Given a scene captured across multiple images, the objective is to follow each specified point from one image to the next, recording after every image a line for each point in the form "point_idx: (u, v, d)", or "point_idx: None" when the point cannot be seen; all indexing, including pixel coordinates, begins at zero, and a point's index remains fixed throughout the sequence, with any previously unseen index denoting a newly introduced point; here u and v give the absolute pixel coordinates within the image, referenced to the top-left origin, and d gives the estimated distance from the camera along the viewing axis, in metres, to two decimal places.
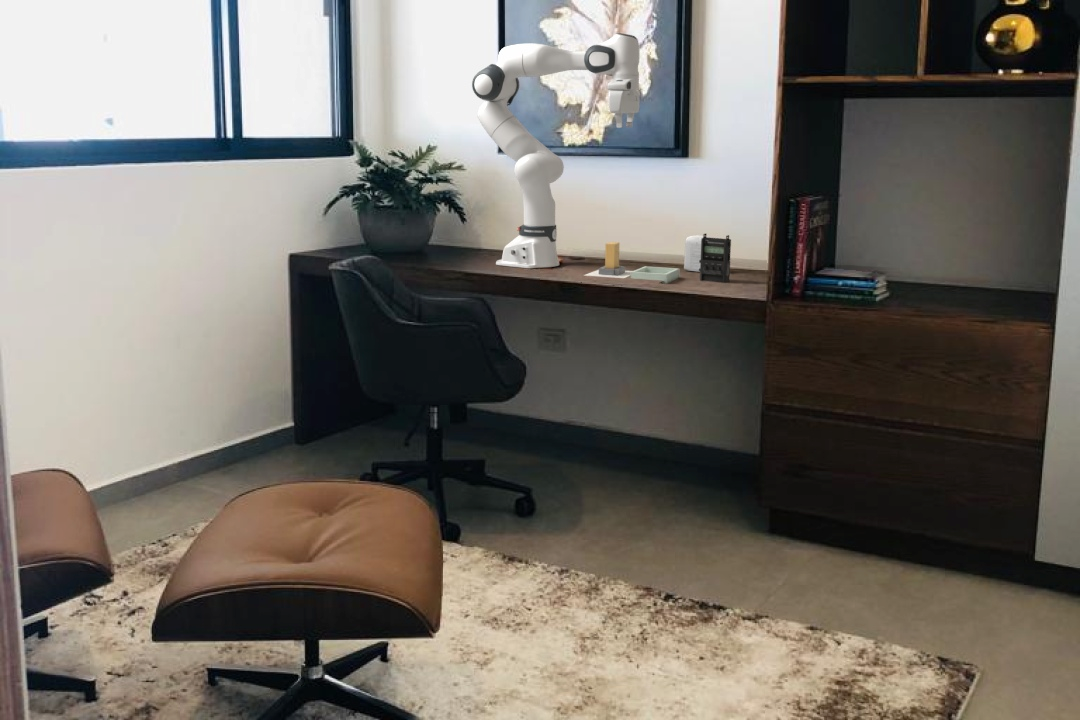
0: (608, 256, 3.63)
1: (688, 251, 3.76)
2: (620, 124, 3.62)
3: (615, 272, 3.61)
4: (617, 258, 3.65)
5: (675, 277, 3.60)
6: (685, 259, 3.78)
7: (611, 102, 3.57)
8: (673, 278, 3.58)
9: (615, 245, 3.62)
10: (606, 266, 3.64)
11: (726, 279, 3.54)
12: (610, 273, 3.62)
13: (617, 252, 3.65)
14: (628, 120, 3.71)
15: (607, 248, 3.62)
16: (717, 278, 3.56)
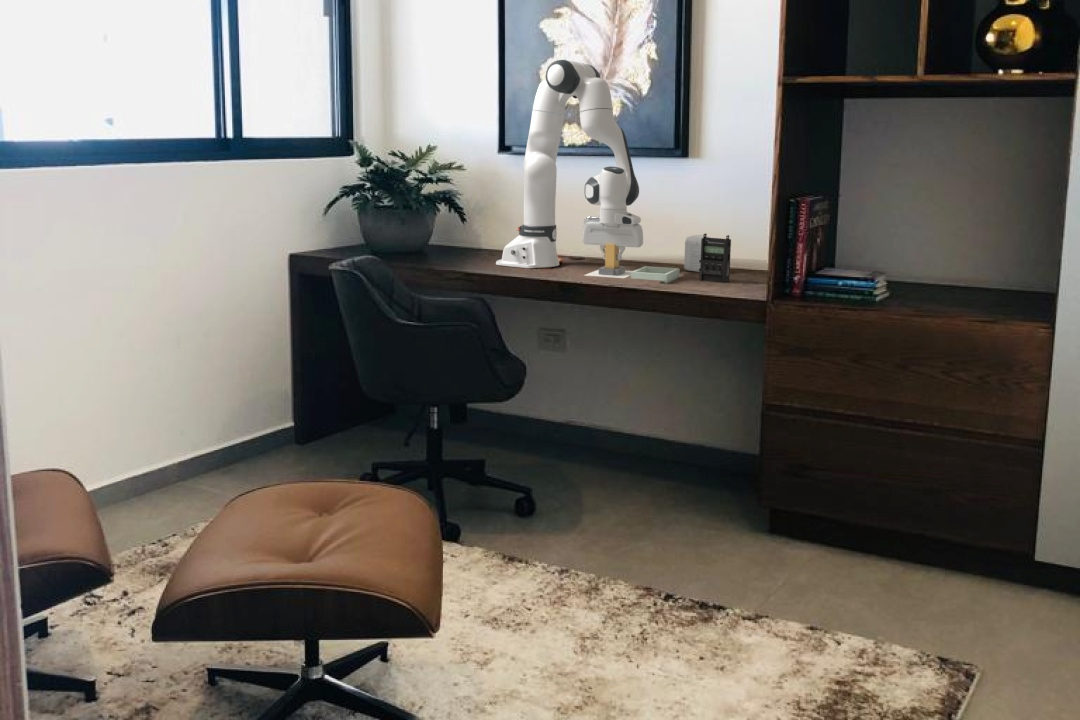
0: (608, 256, 3.63)
1: (688, 251, 3.76)
2: (621, 256, 3.64)
3: (615, 272, 3.61)
4: None
5: (675, 277, 3.60)
6: (685, 259, 3.78)
7: (640, 236, 3.58)
8: (673, 278, 3.58)
9: None
10: (606, 266, 3.64)
11: (726, 279, 3.54)
12: (610, 273, 3.62)
13: (617, 252, 3.65)
14: (604, 252, 3.65)
15: (607, 248, 3.62)
16: (717, 278, 3.56)
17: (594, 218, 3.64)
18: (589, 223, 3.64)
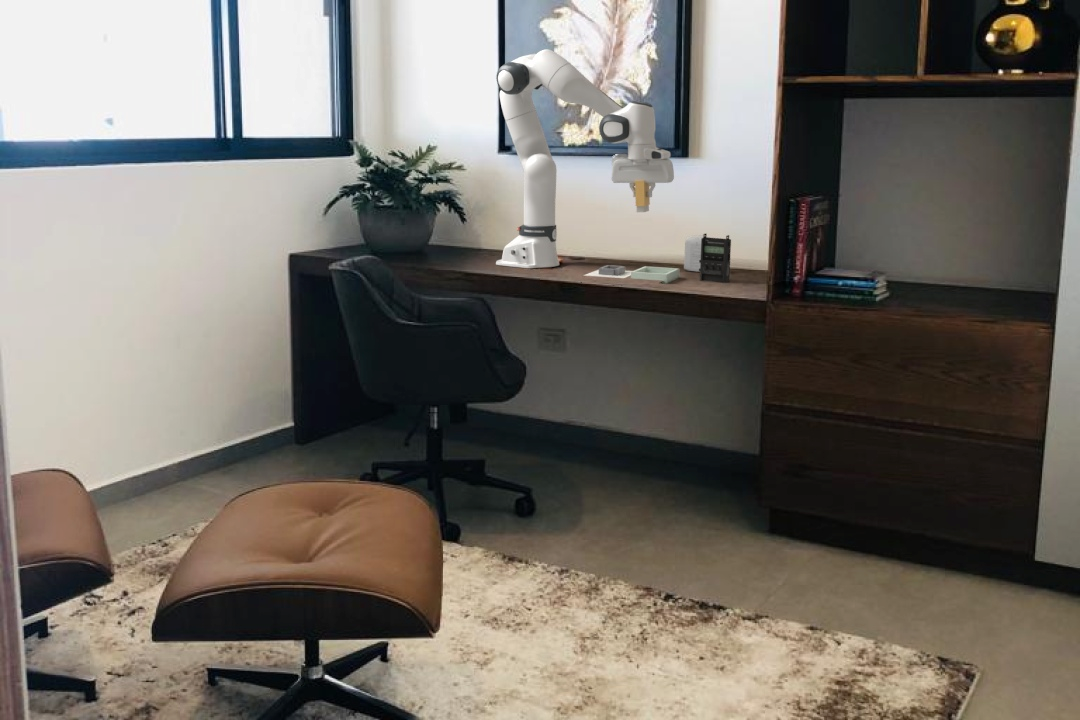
0: (638, 194, 3.53)
1: (688, 251, 3.76)
2: (651, 193, 3.54)
3: (615, 272, 3.61)
4: None
5: (675, 277, 3.60)
6: (685, 259, 3.78)
7: (670, 171, 3.48)
8: (673, 278, 3.58)
9: None
10: (636, 204, 3.54)
11: (726, 279, 3.54)
12: (610, 273, 3.62)
13: (647, 189, 3.55)
14: (634, 190, 3.56)
15: (637, 185, 3.53)
16: (717, 278, 3.56)
17: (622, 155, 3.55)
18: (617, 160, 3.54)
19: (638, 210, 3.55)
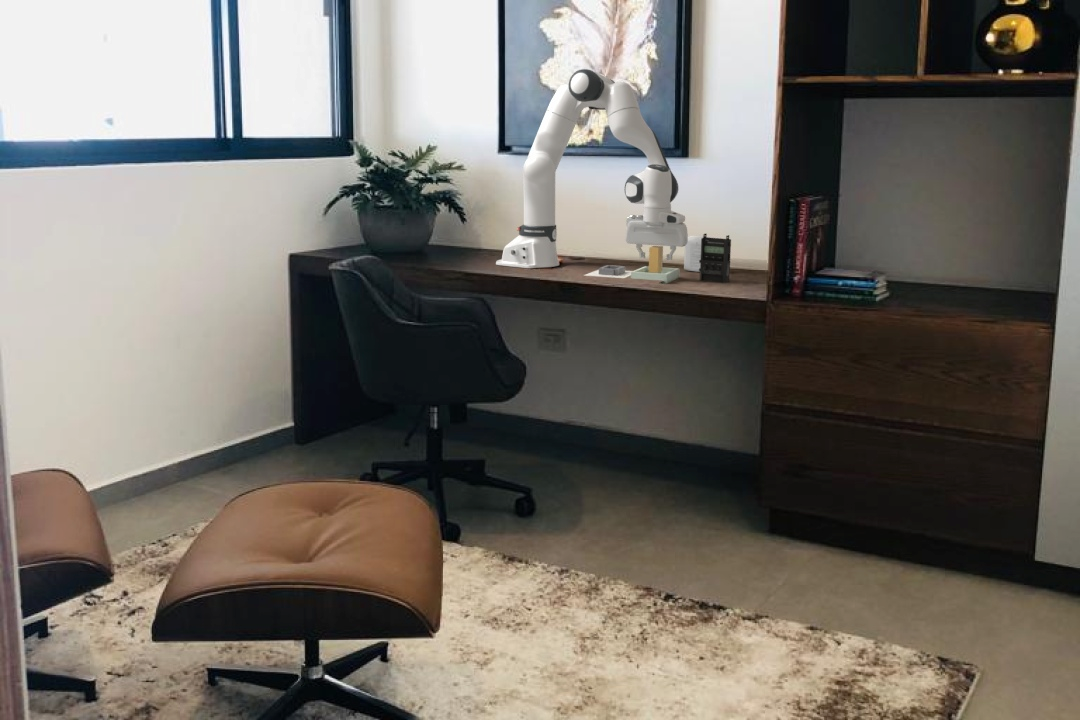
0: (652, 260, 3.57)
1: (688, 251, 3.76)
2: None
3: (615, 272, 3.61)
4: (661, 262, 3.59)
5: (675, 277, 3.60)
6: (685, 259, 3.78)
7: (685, 235, 3.52)
8: (673, 278, 3.58)
9: (659, 249, 3.56)
10: (650, 270, 3.58)
11: (726, 279, 3.54)
12: (610, 273, 3.62)
13: (661, 256, 3.59)
14: (641, 251, 3.60)
15: (651, 252, 3.56)
16: (717, 278, 3.56)
17: (637, 217, 3.58)
18: (632, 222, 3.58)
19: None
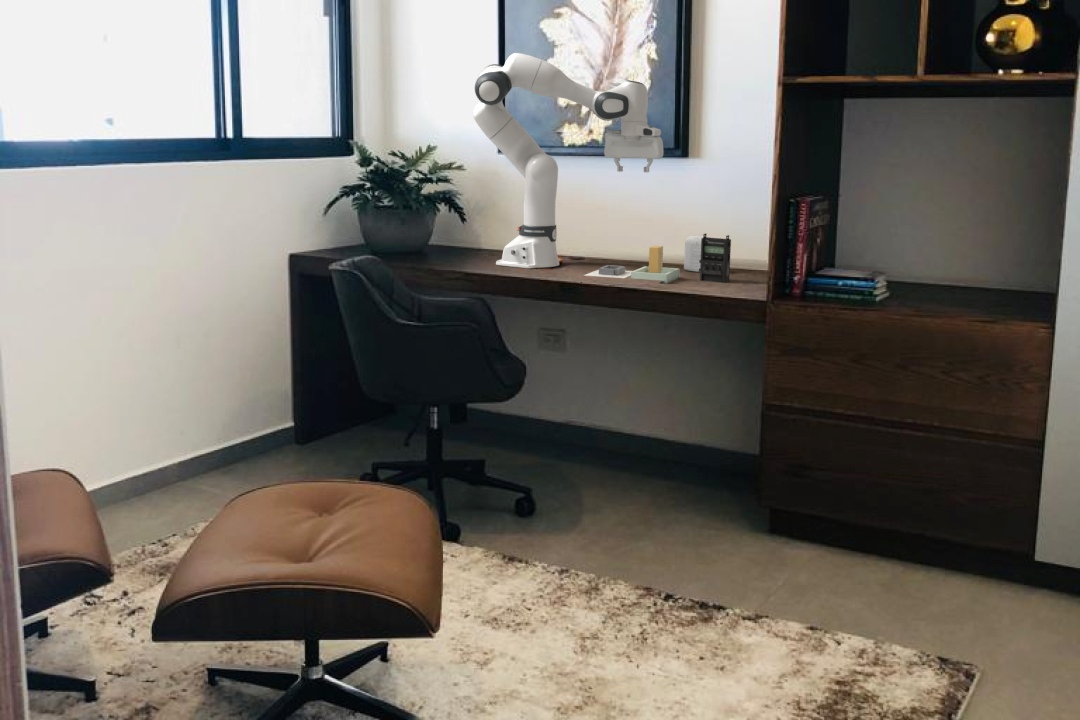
0: (652, 260, 3.57)
1: (688, 251, 3.76)
2: (648, 169, 3.74)
3: (615, 272, 3.61)
4: (661, 262, 3.59)
5: (675, 277, 3.60)
6: (685, 259, 3.78)
7: (660, 148, 3.69)
8: (673, 278, 3.58)
9: (659, 249, 3.56)
10: (650, 270, 3.58)
11: (726, 279, 3.54)
12: (610, 273, 3.62)
13: (661, 256, 3.59)
14: (618, 165, 3.77)
15: (651, 252, 3.56)
16: (717, 278, 3.56)
17: (615, 131, 3.75)
18: (611, 136, 3.74)
19: None
